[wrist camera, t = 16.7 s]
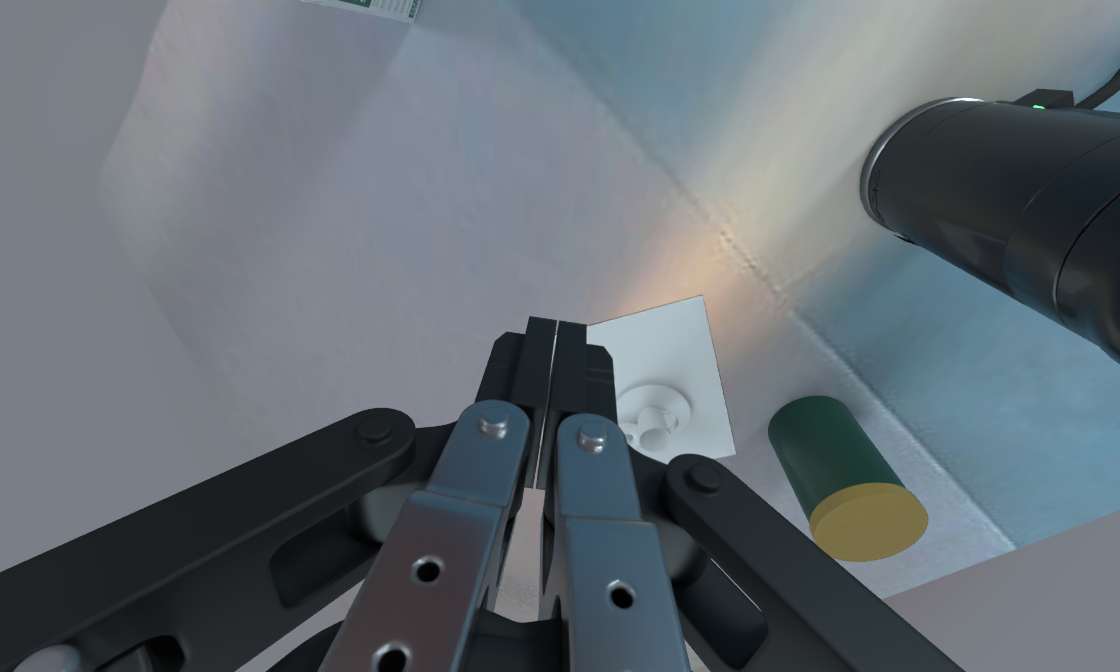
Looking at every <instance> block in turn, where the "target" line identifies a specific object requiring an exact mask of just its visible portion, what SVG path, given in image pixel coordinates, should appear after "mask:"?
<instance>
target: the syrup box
mask: <svg viewBox="0 0 1120 672" xmlns="http://www.w3.org/2000/svg"><path fill="white" fill-rule="evenodd" d="M300 1H304V2H308V3H313V4H317V5H322V6H328V7H333V8H338V9H344V10H349V11H356V12H362V13H367V14H372V15H377V16H382V17H387V18H391V19H395V20H399V21H401V22H405V23H409V24H412V23H414V22H415V18H416V14H417V11H418V8H419V5H420V2H421V0H300Z"/></svg>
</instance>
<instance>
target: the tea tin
mask: <svg viewBox="0 0 1120 672" xmlns="http://www.w3.org/2000/svg"><path fill="white" fill-rule="evenodd" d="M768 436H769V439H770V442H771V444H772V446H773V448H774V450H775V452H776V454H777V456H778V459H779V461H780V463H781V465H782V467H783V469H784V471H785V473H786V475H787V478H788V480H789V482H790V484H791V486H792V488H793V490H794V492H795V494H796V497H797V499H798V501H799V503H800V505H801V507H802V509H803V511H804V513H805V516H806V518H807V520H808V522H809V529H810V532H811V534H812V536H813V538H814V540H815V543H816V544H817V546H818V547H820V548H821V549H822V550H823V551H824V552H826V553H827V554H828V555H829V556H830V557H833V558H835V559H839V560H843V561H851V562H865V561H873V560H878V559H883V558H886V557H889V556H892V555H895V554H897V553H899V552H901V551H903V550H905V549H907V548H908V547H910V546H911V545H913V544H914V543H915V542H916V541H917V540H918V539H919V538H920V537H921V536H922V535H923V534H924V532H925V530H926V528H927V525H928V514H927V512H926V510H925V508H924V507H923V505H922V504H921V503H920V501H919V500H918V499H917V497H916V496H915V495H914V494H913V493H912V492H910V491H909V490H907V489H906V487H905V486H904V484H903V483H902V482H901V480H900V479H899V478H898V476H897V475H896V474H895V472H894V471H893V470H892V468H891V467H890V466H889V464H888V463H887V461H886V460H885V459H884V457H883V456H882V455H881V453H880V452H879V451H878V449H877V448H876V447H875V445H874V444H873V442H872V441H871V440H870V438H869V437H868V436H867V434H866V433H865V432H864V430H863V429H862V428H861V426H860V425H859V424H858V422H857V421H856V419H855V418H854V417H853V415H852V414H851V413H850V411H849V410H848V409H847V407H846V406H845V405H844V404H843V403H841V402H840V401H838V400H836V399H833V398H830V397H825V396H811V397H805V398H801V399H798V400H796V401H793V402H791V403H789V404H787V405H786V406H784V407H783V408H782V409H780V410H779V411H778V412H777V413H776V414H775V415H774V417H773V418H772V420H771V422H770V424H769V428H768Z"/></svg>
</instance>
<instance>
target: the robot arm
mask: <svg viewBox="0 0 1120 672" xmlns="http://www.w3.org/2000/svg"><path fill="white" fill-rule="evenodd" d="M1119 90H1120V69H1119V70H1118V71H1117V73H1116V74H1115V75H1114V77H1113V78H1112V79H1111V80H1110V81H1109V82H1108V83H1107V84H1105V85H1104V86H1103V87H1101V88H1100V89H1099V90H1097V91H1096V92H1095V93H1093V94H1092V95H1090V96H1089V97H1087V98H1086V99H1085V100H1083V101H1081V102H1080V103H1078V104H1077V105H1075V106H1074V98H1073V91H1065V90H1050V89H1036V90H1035V91H1033V92H1031V93H1029V94H1027V95H1025V96H1023V97H1022V98H1020V99H1018V100H1016V101H1014V102H1009V101H996V102H994V103H993V102H986V101H983V100H979V99H973V98H963V97H950V98H943V99H938V100H935V101H932V102H928V103H926V104H924V105H921V106H919V107H917V108H915V109H913V110H912V111H910V112H908V113H907V114H905V115H904V116H903V117H901V118H900V119H899V120H897V121H896V122H895V123H894V124H893V125H892V126H890V127H889V128H888V129H887V130H886V131H885V133H884V134H883V135H882V136H881V137H880V138H879V140H878V141H877V142H876V144H875V145H874V147H873V148H872V150H871V152H870V153H869V155H868V157H867V160H866V162H865V164H864V167H863V171H862V174H861V179H860V196H861V200H862V204H863V206H864V209H865V210H866V212H867V213H868V215H869V216H870V217H871V218H872V219H873V220H874V221H875V222H877V223H878V224H880V225H882V226H883V227H885V228H887V229H889V230H891V231H893V232H896V233H899V234H901V235H902V236H904V237H906V238H907V239H905V238H902V237H900V236H897V235H895V236H897V237H898V238H900V239H902V240H904V241H906V242H909V243H912V244H915V245H918V246H921V247H923V248H925V249H926V250H928V251H930V252H932V253H934V254H935V255H937V256H939V257H941V258H942V259H944V260H946V261H948V262H949V263H951V264H953V265H955V266H957V267H958V268H960V269H962V270H964V271H965V272H967V273H969V274H971V275H972V276H974V277H976V278H978V279H980V280H981V281H983V282H985V283H987V284H988V285H990V286H992V287H994V288H995V289H997V290H999V291H1001V292H1003V293H1004V294H1006V295H1008V296H1010V297H1011V298H1013V299H1015V300H1017V301H1019V302H1020V303H1022V304H1024V305H1026V306H1028V307H1030V308H1031V309H1033V310H1035V311H1037V312H1038V313H1040V314H1042V315H1044V316H1046V317H1047V318H1049V319H1051V320H1053V321H1054V322H1056V323H1058V324H1060V325H1062V326H1063V327H1065V328H1067V329H1069V330H1070V331H1072V332H1074V333H1076V334H1078V335H1079V336H1081V337H1083V338H1085V339H1087V340H1088V341H1090V342H1092V343H1094V344H1096V345H1097V346H1099V347H1100V348H1101V349H1102V350H1103V351H1104V352H1105V353H1106V354H1107V355H1108V356H1110V357H1111V358H1112V359H1113V360H1114V361H1116V362H1117V363H1118V364H1120V113H1117V112H1108V111H1098V110H1092V109H1094V108H1095V107H1097V106H1098V105H1100V104H1101V103H1103V102H1104V101H1106V100H1107V99H1108V98H1110V97H1111V96H1113V95H1114V94H1115V93H1117V92H1118V91H1119ZM893 235H894V234H893ZM908 239H909V240H908ZM556 324H557V320H552V319H546V318H539V317H532V316H530V317H529V321H528V325H527V329H526V334H519V333H513V332H506V333H504V334H503V335H502V336H501V337H499V338H498V339H497V340H496V341H495V342H494V345H493V348H492V351H491V356H490V357H489V360H488V363H487V366H486V369H485V372H484V375H483V378H482V381H481V384H480V387H479V390H478V393H477V396H476V399H475V402H474V404H472V405H470V406H469V407H467V408H466V409H465V410H464V411H463V412H462V414H461V415H460V417H459V419H458V420H457V421H455V422H453V423H450V424H446V425H442V426H435V427H425V428H415V424H414V422H413V420H412V419H411V418H410V417H409V416H408V415H406V414H405V413H403V412H401V411H398V410H395V409H390V408H373V409H368V410H364V411H361V412H358V413H355V414H353V415H351V416H349V417H347V418H344V419H342V420H340V421H338V422H335V423H333V424H331V425H329V426H326V427H324V428H322V429H320V430H317V431H315V432H313V433H311V434H309V435H306V436H304V437H302V438H300V439H297V440H295V441H293V442H291V443H288V444H286V445H284V446H282V447H279V448H277V449H275V450H273V451H270V452H268V453H266V454H264V455H262V456H259V457H257V458H255V459H253V460H250V461H248V462H246V463H244V464H241V465H239V466H237V467H235V468H232V469H230V470H228V471H226V472H224V473H221V474H219V475H217V476H215V477H212V478H210V479H208V480H206V481H203V482H201V483H199V484H197V485H194V486H192V487H190V488H188V489H185V490H183V491H181V492H179V493H177V494H175V495H172V496H170V497H168V498H166V499H163V500H161V501H159V502H156V503H154V504H152V505H150V506H147V507H145V508H143V509H141V510H139V511H136V512H134V513H132V514H130V515H128V516H125V517H123V518H121V519H118V520H116V521H114V522H112V523H110V524H107V525H105V526H103V527H101V528H98V529H96V530H94V531H92V532H89V533H87V534H85V535H83V536H80V537H78V538H76V539H74V540H72V541H69V542H67V543H65V544H63V545H60V546H58V547H56V548H54V549H51V550H49V551H47V552H45V553H42V554H40V555H38V556H36V557H33V558H31V559H29V560H27V561H24V562H22V563H20V564H18V565H15V566H13V567H11V568H9V569H7V570H4V571H2V572H0V672H235V671H236V670H237V669H239V668H240V667H241V666H243V665H244V664H246V663H247V662H249V661H250V660H251V659H253V658H254V657H255V656H257V655H258V654H260V653H261V652H262V651H264V650H265V649H267V648H268V647H270V646H271V645H272V644H274V643H275V642H276V641H278V640H279V639H281V638H282V637H283V636H285V635H286V634H288V633H289V632H290V631H292V630H293V629H295V628H296V627H297V626H299V625H300V624H302V623H303V622H304V621H306V620H307V619H309V618H310V617H311V616H313V615H314V614H316V613H317V612H318V611H320V610H321V609H323V608H324V607H325V606H327V605H328V604H330V603H331V602H332V601H334V600H335V599H337V598H338V597H339V596H341V595H342V594H344V593H345V592H346V591H348V590H349V589H351V588H352V587H353V586H355V585H356V584H358V583H359V582H360V581H362V580H363V579H365V580H364V582H363V584H362V586H361V588H360V590H359V592H358V594H357V596H356V598H355V600H354V602H353V604H352V606H351V607H350V609H349V611H348V614H347V615H346V617H345V619H344V620H342V621H340V622H338V623H336V624H334V625H332V626H330V627H328V628H326V629H324V630H322V631H321V632H319V633H317V634H316V635H314V636H313V637H311V638H310V639H308V640H306V641H305V642H303V643H302V644H301V645H300V646H298V647H297V648H295V649H294V650H293V651H292V652H290V653H289V654H288V655H286V656H285V657H284V658H282V659H281V660H280V661H279V662H277V663H276V664H275V665H274V666H272V667H271V668H270V669H269V670H267V671H266V672H693V671H691V667H690V663H689V659H688V654H687V650H686V646H685V641H684V639H685V640H686V641H687V643H688V644H689V645H690V646H691V648H692V649H693V650H694V651H695V653H696V654H697V655H698V656H699V658H700V659H701V660H702V661H703V663H704V664H705V665H706V666H707V668H708V669H709V670H710V671H711V672H965V671H964V670H963V669H962V668H960V667H959V666H958V665H957V664H956V663H955V662H953V661H952V660H951V659H950V658H949V657H948V656H946V655H945V654H944V653H943V652H942V651H941V650H939V649H938V648H937V647H936V646H935V645H933V644H932V643H931V642H930V641H929V640H927V639H926V638H925V637H924V636H923V635H922V634H921V633H919V632H918V631H917V630H916V629H915V628H913V627H912V626H911V625H910V624H909V623H908V622H907V621H905V620H904V619H903V618H902V617H901V616H899V615H898V614H897V613H896V612H895V611H894V610H892V609H891V608H890V607H889V606H888V605H887V604H885V603H884V602H883V601H882V600H881V599H880V598H878V597H877V596H876V595H875V594H874V593H872V592H871V591H870V590H869V589H868V588H867V587H865V586H864V585H863V584H862V583H861V582H860V581H858V580H857V579H856V578H855V577H854V576H853V575H851V574H850V573H849V572H848V571H847V570H845V569H844V568H843V567H842V566H841V565H840V564H838V563H837V562H836V561H835V560H834V559H833V558H831V557H830V556H829V555H828V554H827V553H826V552H824V551H823V550H822V549H821V548H820V547H818V546H817V545H816V544H815V543H814V542H813V541H811V540H810V539H809V538H808V537H807V536H806V535H804V534H803V533H802V532H801V531H800V530H799V529H797V528H796V527H795V526H794V525H793V524H792V523H790V522H789V521H788V520H787V519H786V518H784V517H783V516H782V515H781V514H780V513H779V512H777V511H776V510H775V509H774V508H773V507H772V506H770V505H769V504H768V503H767V502H766V501H765V500H763V499H762V498H761V497H760V496H759V495H757V494H756V493H755V492H754V491H753V490H752V489H750V488H749V487H748V486H747V485H746V484H745V483H743V482H742V481H741V480H740V479H739V478H738V477H736V476H735V475H734V474H733V473H732V472H730V471H729V470H728V469H727V468H726V467H724V466H723V465H722V464H720V463H719V462H717V461H715V460H713V459H711V458H709V457H706V456H703V455H699V454H681V455H678V456H676V457H674V458H673V459H671V461H670V462H669V463H668V465H667V464H665V463H662V462H660V461H657V460H655V459H652V458H650V457H648V456H645V455H643V454H641V453H640V452H638V451H636V450H635V449H634V448H632V447H631V446H630V445H629V444H628V443H627V439H626V436H625V434H624V432H623V431H622V429H621V428H620V427H619V426H618V418H617V406H616V393H615V385H614V383H615V380H614V367H613V358H612V357H611V355H610V354H609V353H608V351H607V350H606V348H605V347H604V346H599V345H593V344H587V325H586V324H579V323H573V322H566V321H559V325H558V331H557V337H556V343H555V349H554V355H553V348H554V340H555V332H556ZM552 356H553V362H552ZM551 364H552V368H551ZM550 372H551V374H550ZM549 380H550V381H549ZM544 417H545V419H544ZM543 423H544V427H543ZM542 429H543V435H542ZM541 436H542V443H541V451H540V459H539V467H538V475H537V483H536V489H542V490H545V499H544V507H543V512H542V518H541V532H540V587H539V615H538V621H534V622H527V623H520V622H515V621H512V620H510V619H507V618H505V617H503V616H500V615H498V614H496V613H494V608H495V603H496V599H497V595H498V591H499V587H500V583H501V579H502V575H503V571H504V567H505V563H506V559H507V555H508V551H509V547H510V543H511V539H512V535H513V531H514V527H515V523H516V517H517V512H518V511H519V509H520V507H521V504H522V499H523V492H524V487H526V488H533V484H534V478H535V472H536V466H537V460H538V454H539V448H540V442H541ZM711 558H712V559H713V560H714V561H715V562H716V563H717V564H718V565H719V566H720V567H721V568H722V569H723V570H724V571H725V573H726V574H727V575H728V576H729V577H730V578H731V579H732V580H733V581H734V582H735V583H736V584H737V585H738V586H739V587H740V588H741V589H742V590H743V591H744V592H745V593H746V594H747V595H748V596H749V597H750V598H751V600H752V601H753V602H754V603H755V604H756V605H757V606H758V607H759V608H760V610H761V611H762V612H761V611H760V610H759V609H758V608H757V607H756V606H755V605H754V604H753V603H752V602H751V601H750V600H749V599H748V598H747V596H746V595H745V594H744V593H743V592H742V591H741V590H740V589H739V588H738V587H737V586H736V585H735V584H734V583H733V582H732V581H731V580H730V579H729V578H728V577H727V576H726V575H725V574H724V572H723V571H722V570H721V569H720V568H719V567H718V566H717V565H716V564H715V563H714V562H713V561H712V560H711Z"/></svg>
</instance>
